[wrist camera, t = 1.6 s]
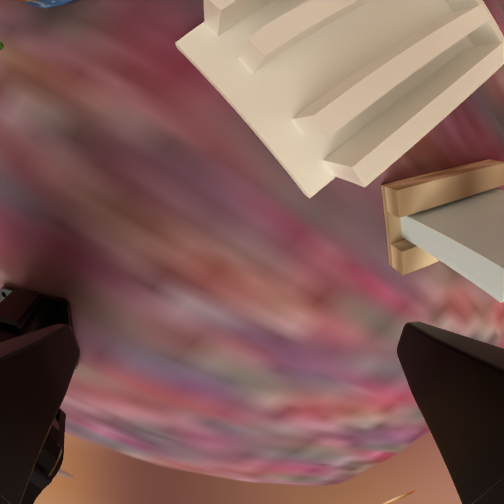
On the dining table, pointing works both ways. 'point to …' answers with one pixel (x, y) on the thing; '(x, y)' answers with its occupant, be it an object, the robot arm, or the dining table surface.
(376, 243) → the dining table surface
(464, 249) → the pale grey tapered slat
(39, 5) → the snack cup
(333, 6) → the rack
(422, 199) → the stand
